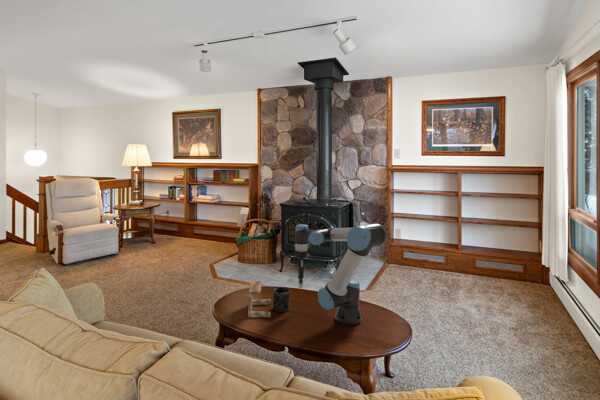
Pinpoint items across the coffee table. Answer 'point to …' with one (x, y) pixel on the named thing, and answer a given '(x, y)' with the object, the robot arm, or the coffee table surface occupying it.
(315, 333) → the coffee table surface
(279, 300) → the mug
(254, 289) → the wooden u-frame
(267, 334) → the coffee table surface
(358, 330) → the coffee table surface
